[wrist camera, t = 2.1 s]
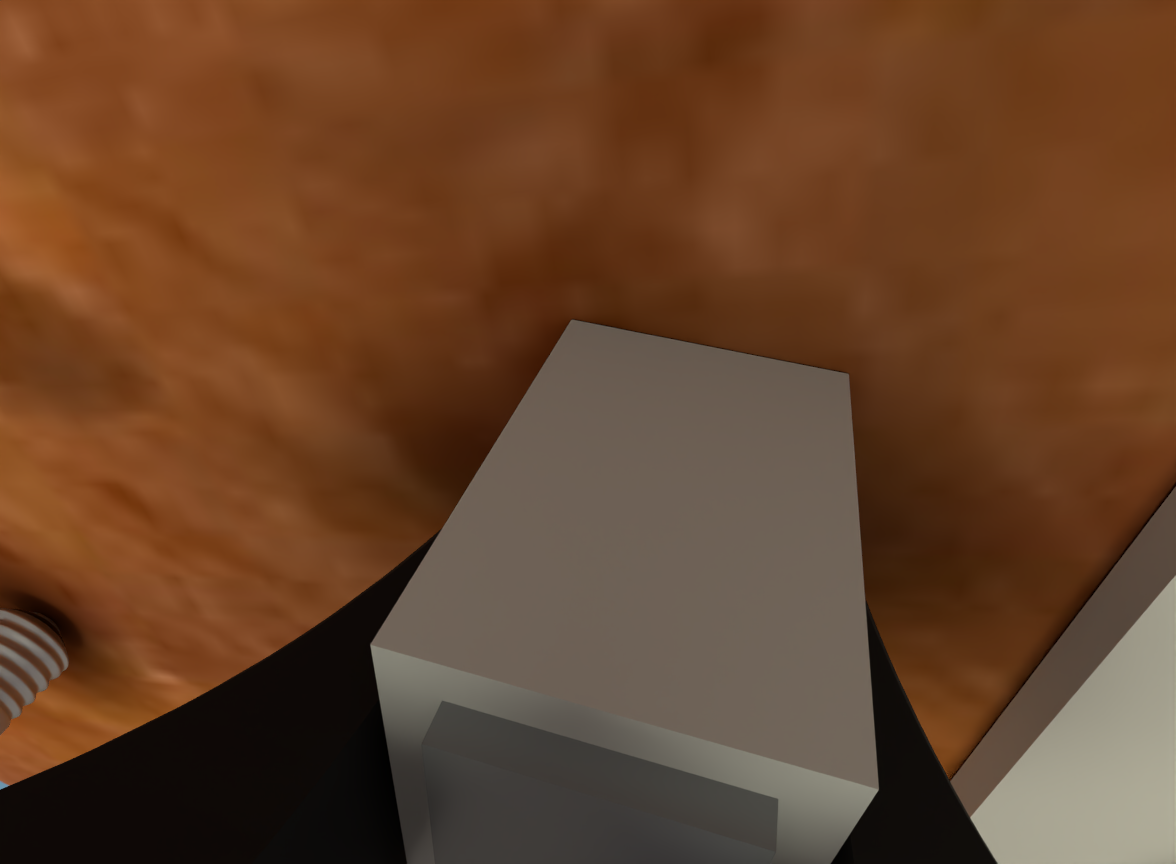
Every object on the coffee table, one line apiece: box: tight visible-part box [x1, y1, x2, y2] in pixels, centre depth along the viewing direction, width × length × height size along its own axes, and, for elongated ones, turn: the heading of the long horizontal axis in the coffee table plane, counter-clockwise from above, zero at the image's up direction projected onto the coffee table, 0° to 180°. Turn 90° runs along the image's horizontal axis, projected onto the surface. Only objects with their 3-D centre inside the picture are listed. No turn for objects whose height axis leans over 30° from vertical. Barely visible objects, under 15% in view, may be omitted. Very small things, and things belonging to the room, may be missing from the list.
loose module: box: [370, 320, 879, 864], centre depth 9 cm, size 6×4×6 cm, turn 175°
